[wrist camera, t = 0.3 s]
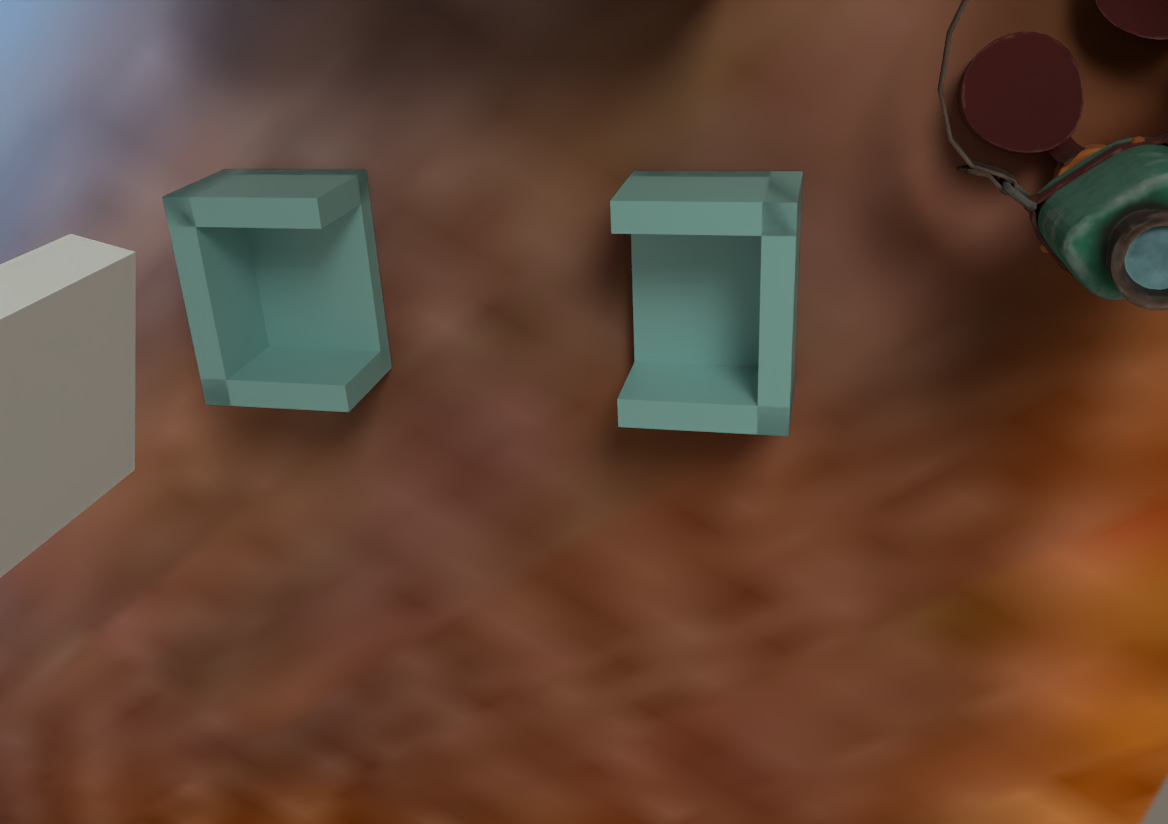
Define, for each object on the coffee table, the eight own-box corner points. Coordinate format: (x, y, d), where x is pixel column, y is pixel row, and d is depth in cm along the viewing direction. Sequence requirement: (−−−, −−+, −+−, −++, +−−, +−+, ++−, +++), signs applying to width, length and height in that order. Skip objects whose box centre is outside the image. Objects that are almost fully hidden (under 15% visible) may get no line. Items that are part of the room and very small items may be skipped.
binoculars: (1218, -263, 20) (1556, 130, 21) (1127, -183, 30) (1362, 87, 30) (848, 86, 24) (1141, 408, 25) (871, 59, 34) (1083, 294, 34)
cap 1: (224, 169, 39) (162, 196, 36) (366, 169, 38) (316, 198, 35) (259, 361, 42) (205, 404, 39) (391, 367, 41) (348, 412, 38)
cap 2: (794, 385, 38) (788, 436, 35) (639, 378, 39) (618, 426, 36) (802, 171, 35) (797, 202, 31) (633, 170, 36) (610, 200, 33)
